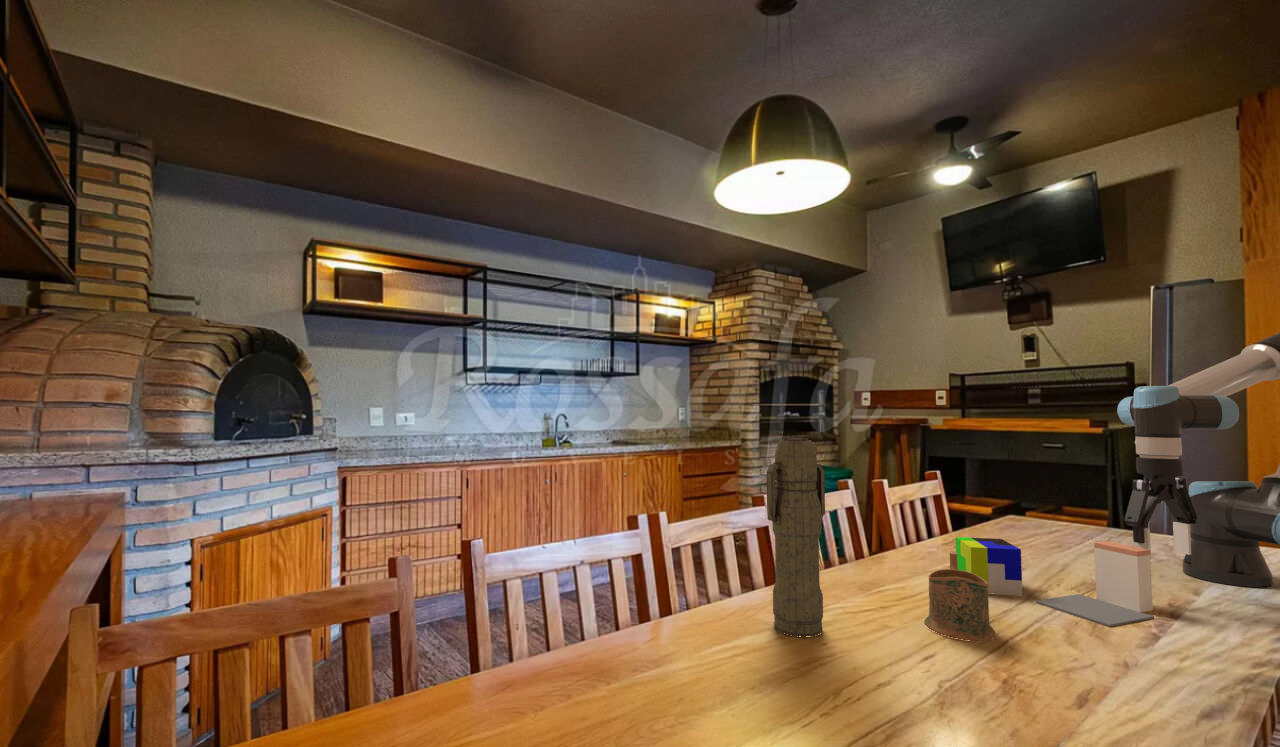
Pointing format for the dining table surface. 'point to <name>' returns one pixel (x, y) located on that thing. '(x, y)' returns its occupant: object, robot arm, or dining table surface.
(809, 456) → the robed figure statue
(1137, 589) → the tall block
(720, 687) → the dining table surface
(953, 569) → the brown hat
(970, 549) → the puzzle toy
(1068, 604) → the mat
